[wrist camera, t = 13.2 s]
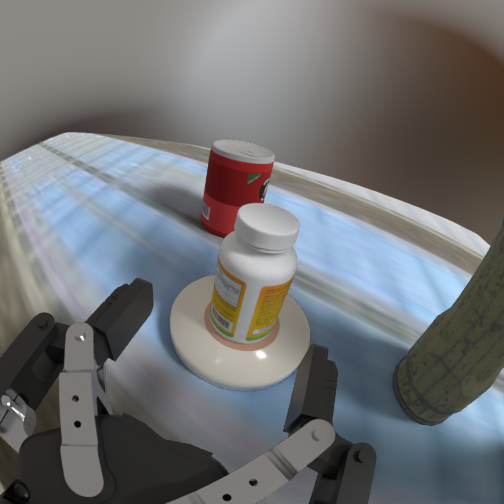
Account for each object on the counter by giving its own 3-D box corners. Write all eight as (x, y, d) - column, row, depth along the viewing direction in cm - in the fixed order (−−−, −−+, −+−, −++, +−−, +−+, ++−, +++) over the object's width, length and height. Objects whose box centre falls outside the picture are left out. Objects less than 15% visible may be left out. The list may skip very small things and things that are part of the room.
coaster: (266, 276, 30) (269, 265, 30) (328, 362, 22) (336, 352, 21) (156, 294, 25) (156, 281, 24) (198, 410, 17) (199, 402, 16)
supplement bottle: (274, 304, 25) (308, 209, 19) (271, 352, 20) (314, 250, 15) (216, 291, 25) (234, 191, 19) (202, 337, 20) (217, 227, 15)
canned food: (242, 248, 34) (262, 162, 28) (188, 225, 36) (198, 144, 30) (264, 224, 40) (283, 152, 34) (217, 206, 42) (229, 136, 36)
